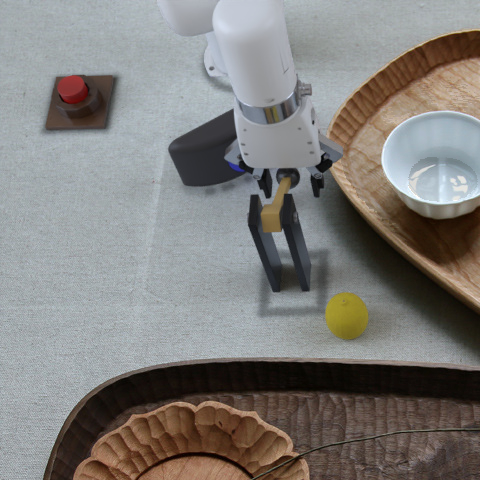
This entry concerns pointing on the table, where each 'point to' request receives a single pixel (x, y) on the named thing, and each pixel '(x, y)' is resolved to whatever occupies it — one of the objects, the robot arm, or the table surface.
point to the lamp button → (72, 89)
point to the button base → (81, 106)
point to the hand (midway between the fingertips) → (293, 189)
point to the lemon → (346, 315)
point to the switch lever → (279, 199)
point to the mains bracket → (268, 247)
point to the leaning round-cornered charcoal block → (206, 153)
